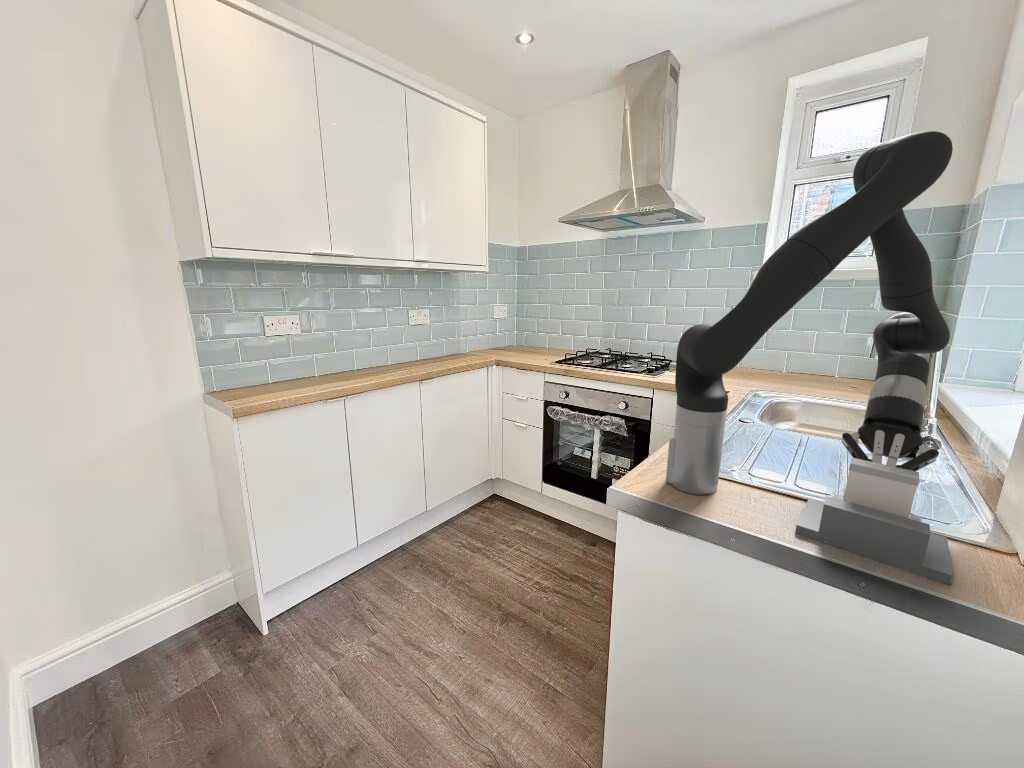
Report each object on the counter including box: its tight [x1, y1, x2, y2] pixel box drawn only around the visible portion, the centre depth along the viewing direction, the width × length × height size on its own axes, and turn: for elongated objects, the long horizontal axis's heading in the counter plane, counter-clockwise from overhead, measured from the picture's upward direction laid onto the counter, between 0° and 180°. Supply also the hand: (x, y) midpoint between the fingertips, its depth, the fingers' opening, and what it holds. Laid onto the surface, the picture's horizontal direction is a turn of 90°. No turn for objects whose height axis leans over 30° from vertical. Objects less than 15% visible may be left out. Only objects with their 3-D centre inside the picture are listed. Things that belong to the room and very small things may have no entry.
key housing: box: [794, 493, 954, 586], centre depth 66 cm, size 18×12×6 cm, turn 46°
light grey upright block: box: [842, 457, 920, 518], centre depth 66 cm, size 8×3×10 cm, turn 46°
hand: (877, 492), depth 68 cm, fingers closed
